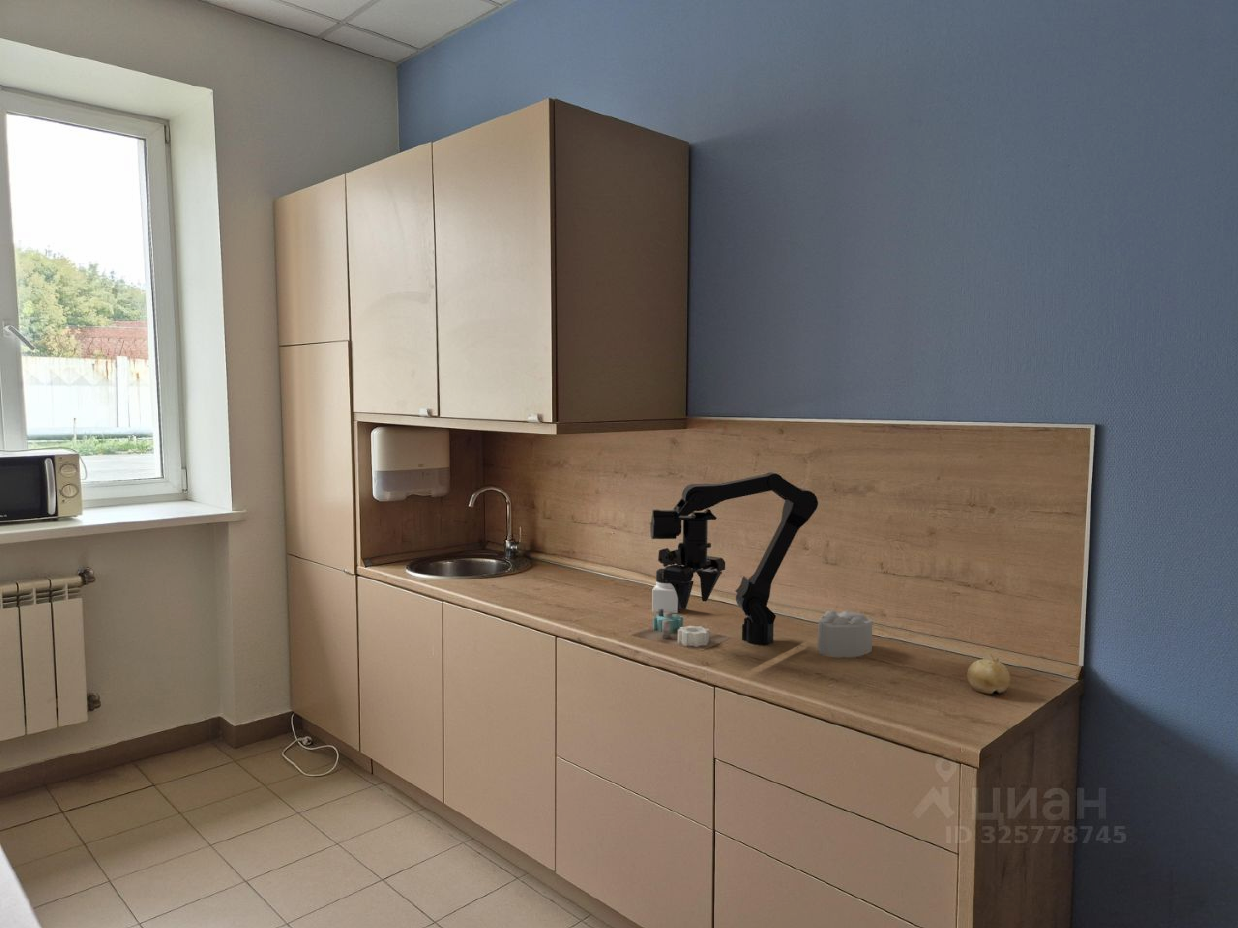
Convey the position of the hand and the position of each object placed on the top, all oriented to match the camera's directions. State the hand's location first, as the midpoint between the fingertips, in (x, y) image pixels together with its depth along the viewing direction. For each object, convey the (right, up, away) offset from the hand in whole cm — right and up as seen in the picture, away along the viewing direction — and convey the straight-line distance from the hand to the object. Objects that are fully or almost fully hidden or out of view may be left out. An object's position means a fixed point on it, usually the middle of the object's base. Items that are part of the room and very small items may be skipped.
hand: (694, 604), depth 199 cm
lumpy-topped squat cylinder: (+34, -11, -1) cm, 36 cm away
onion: (+57, -13, -28) cm, 64 cm away
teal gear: (-5, -8, +12) cm, 15 cm away
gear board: (-3, -9, +6) cm, 11 cm away
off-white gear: (0, -9, +1) cm, 9 cm away
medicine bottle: (-5, -8, +32) cm, 33 cm away
